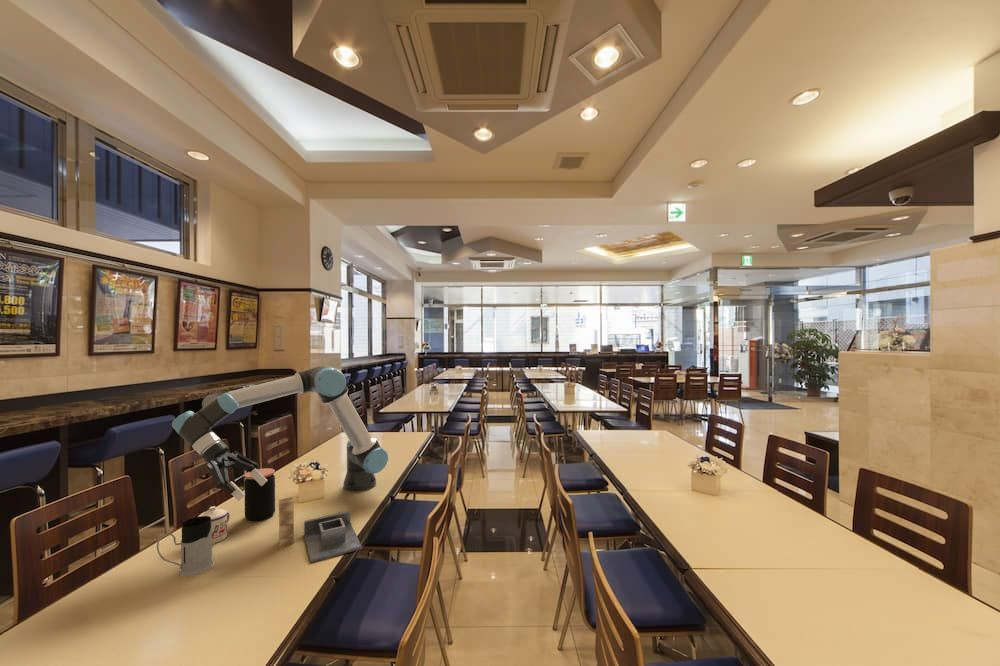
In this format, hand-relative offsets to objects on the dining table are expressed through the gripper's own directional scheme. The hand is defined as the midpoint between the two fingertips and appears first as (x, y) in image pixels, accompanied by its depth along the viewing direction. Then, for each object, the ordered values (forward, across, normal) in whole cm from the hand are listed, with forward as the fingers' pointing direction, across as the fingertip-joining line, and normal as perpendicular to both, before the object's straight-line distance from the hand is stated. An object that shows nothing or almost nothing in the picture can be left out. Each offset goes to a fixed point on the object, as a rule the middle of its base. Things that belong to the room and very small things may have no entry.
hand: (253, 490), depth 144 cm
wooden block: (+21, -1, -5) cm, 22 cm away
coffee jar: (+6, -22, -21) cm, 31 cm away
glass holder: (+6, +17, -21) cm, 28 cm away
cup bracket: (+33, -1, +6) cm, 33 cm away
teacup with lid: (+2, -5, -25) cm, 26 cm away
